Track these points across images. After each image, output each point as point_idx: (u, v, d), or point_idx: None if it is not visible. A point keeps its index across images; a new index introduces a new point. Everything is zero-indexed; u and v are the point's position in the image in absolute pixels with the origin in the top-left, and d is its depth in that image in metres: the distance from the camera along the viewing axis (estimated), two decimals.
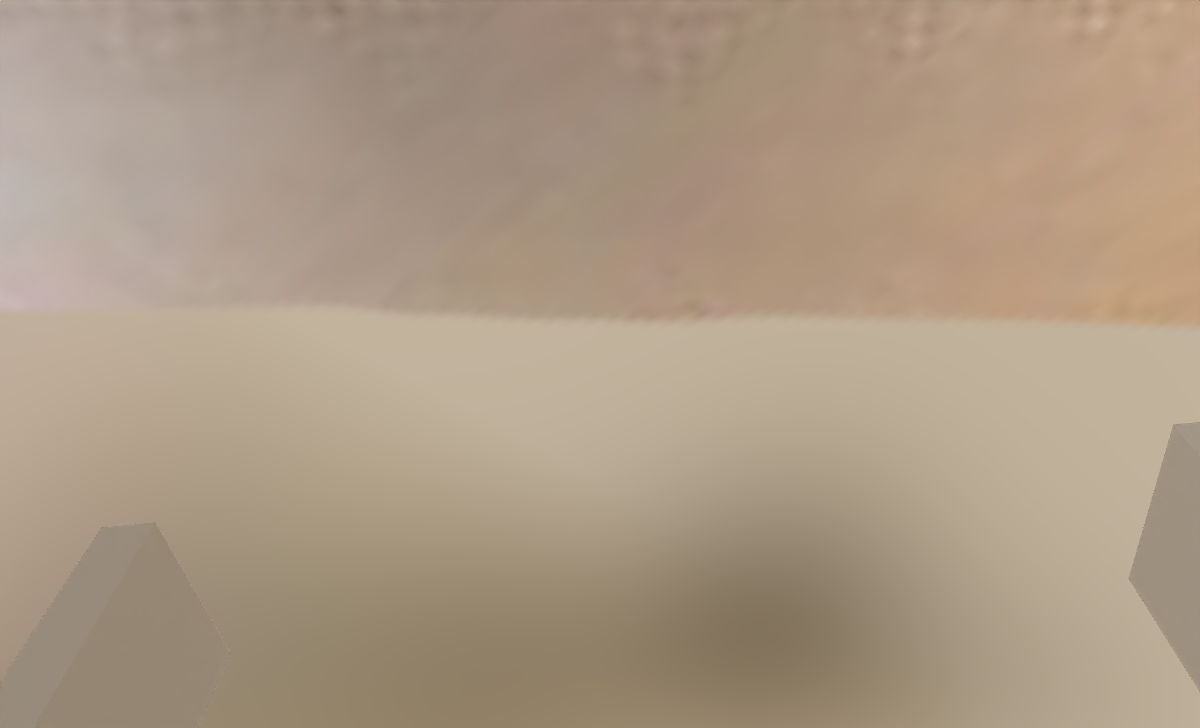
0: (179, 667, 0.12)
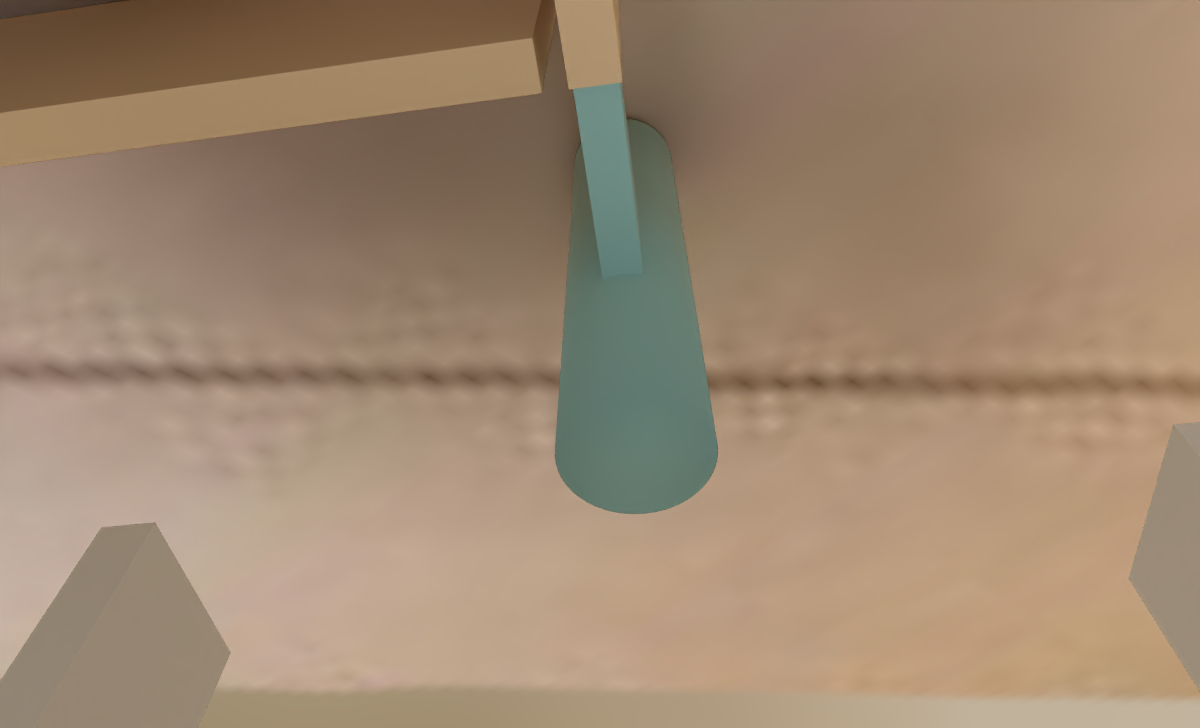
0: (179, 667, 0.12)
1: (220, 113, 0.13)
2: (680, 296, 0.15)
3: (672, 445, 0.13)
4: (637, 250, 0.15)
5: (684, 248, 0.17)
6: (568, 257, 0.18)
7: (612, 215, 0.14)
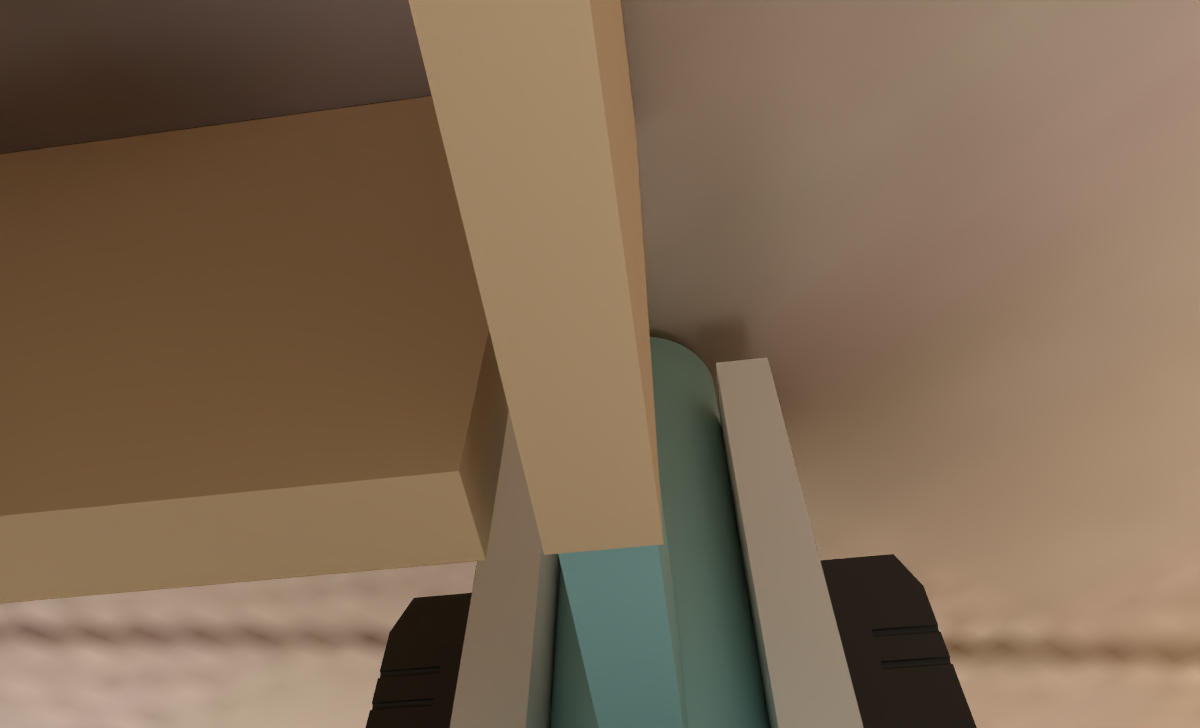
0: None
1: None
2: None
3: None
4: None
5: (753, 636, 0.10)
6: (556, 640, 0.10)
7: (635, 718, 0.07)
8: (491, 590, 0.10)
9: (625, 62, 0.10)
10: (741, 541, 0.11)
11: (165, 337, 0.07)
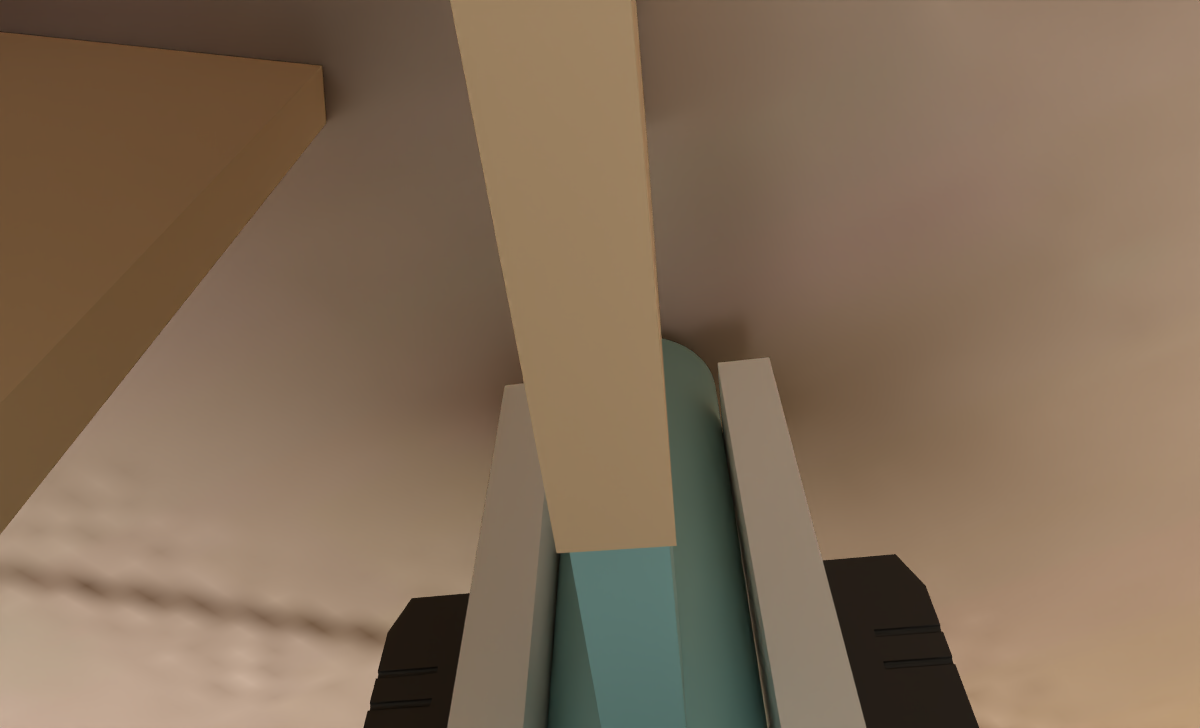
0: None
1: None
2: None
3: None
4: None
5: (752, 640, 0.10)
6: (554, 638, 0.10)
7: (638, 719, 0.07)
8: (489, 591, 0.10)
9: (640, 62, 0.10)
10: (743, 541, 0.11)
11: None
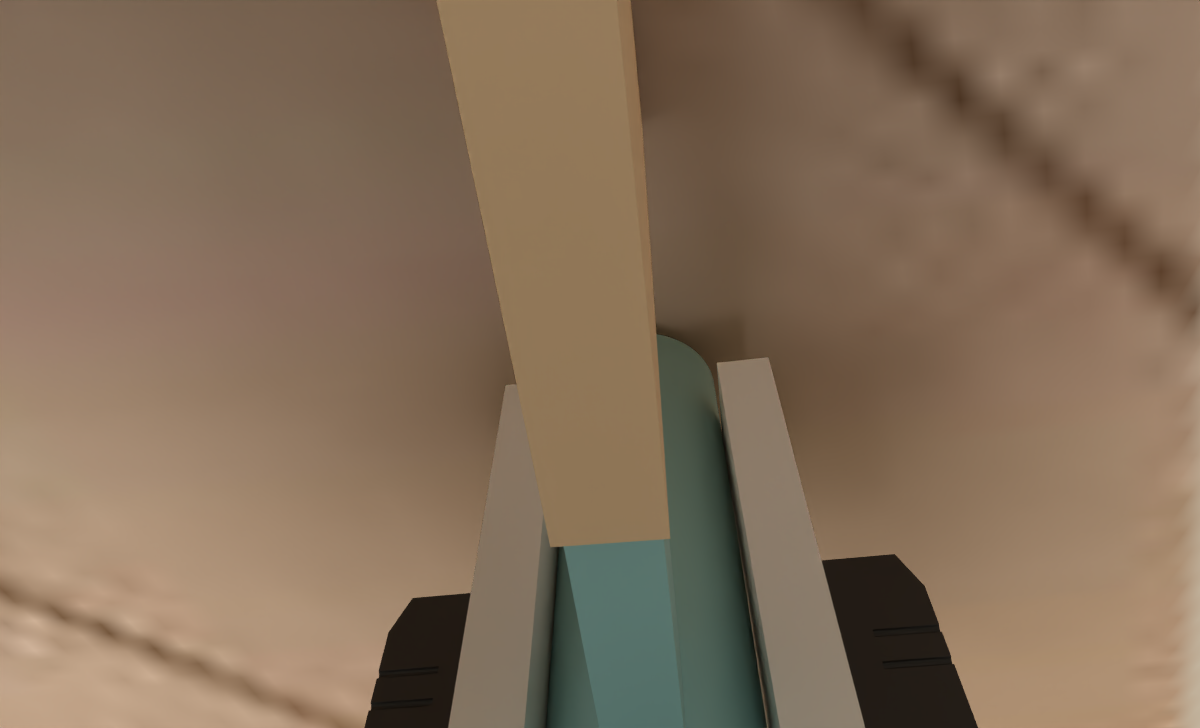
0: None
1: None
2: None
3: None
4: None
5: (750, 635, 0.10)
6: (553, 634, 0.10)
7: (635, 713, 0.07)
8: (490, 590, 0.10)
9: None
10: (742, 541, 0.11)
11: None
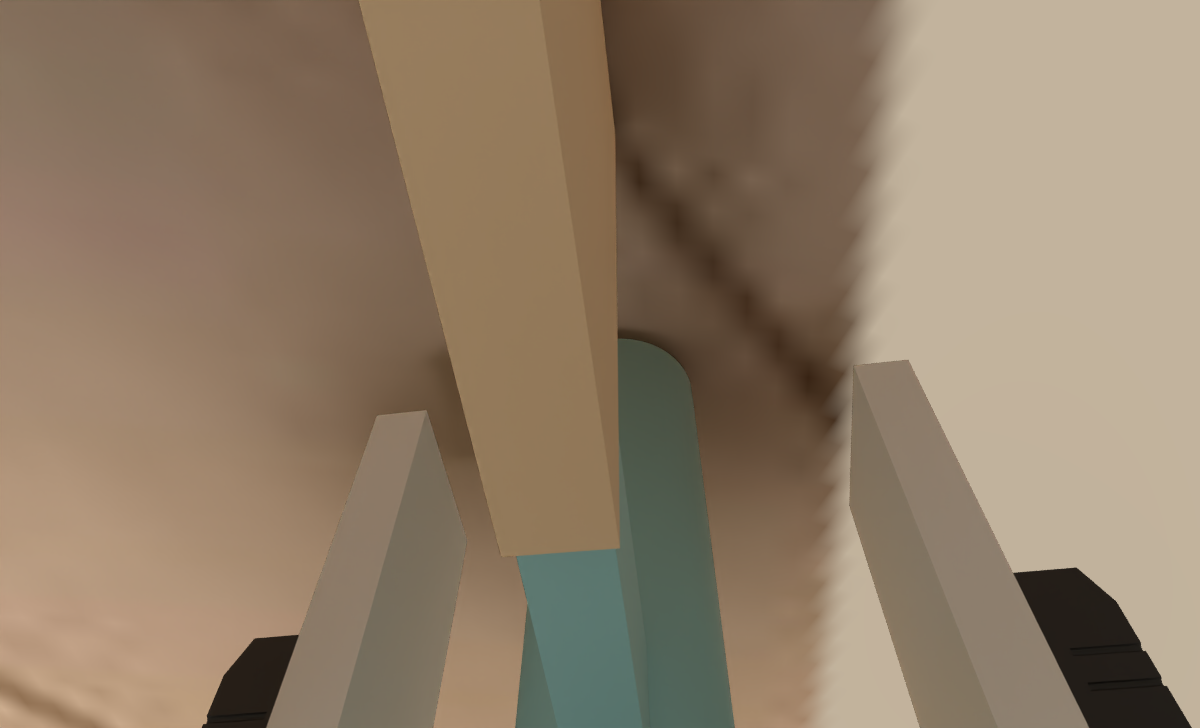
0: (444, 542, 0.13)
1: None
2: None
3: None
4: None
5: (720, 640, 0.10)
6: (524, 641, 0.10)
7: (595, 721, 0.07)
8: (318, 634, 0.10)
9: (602, 65, 0.10)
10: (904, 553, 0.11)
11: None
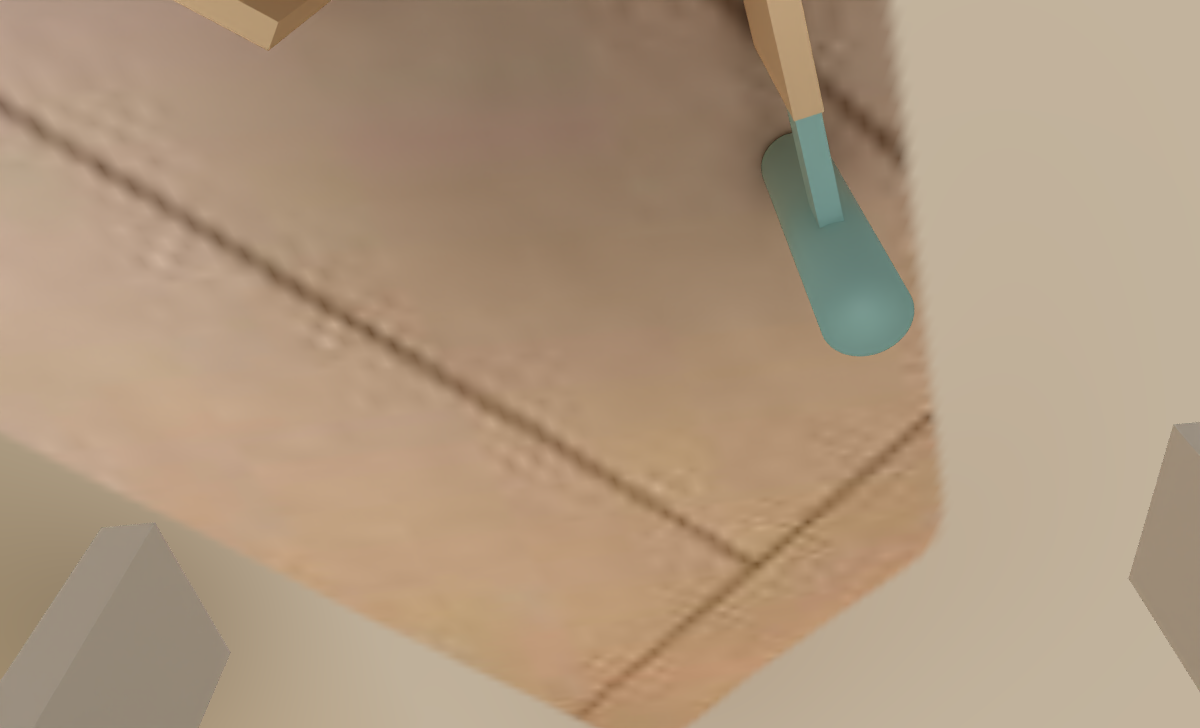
0: (179, 667, 0.12)
1: None
2: (869, 230, 0.25)
3: (887, 307, 0.23)
4: (839, 207, 0.25)
5: None
6: (784, 225, 0.28)
7: (822, 188, 0.24)
8: None
9: None
10: None
11: None
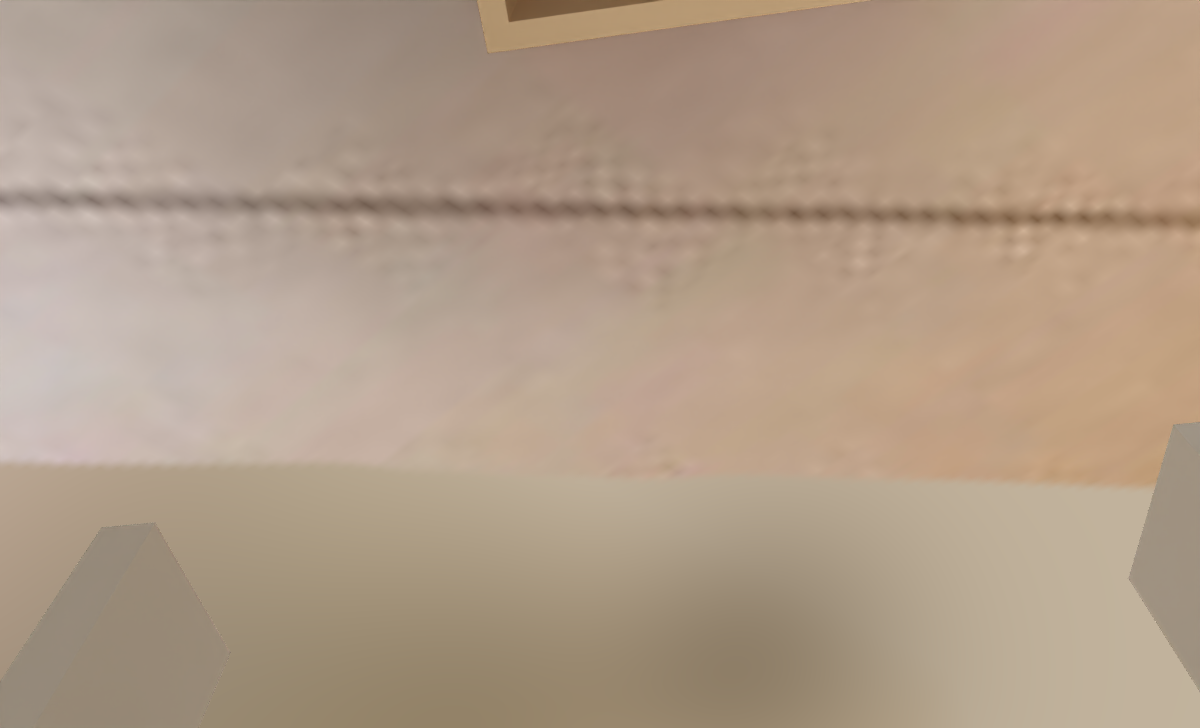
0: (179, 667, 0.12)
1: None
2: None
3: None
4: None
5: None
6: None
7: None
8: None
9: None
10: None
11: None
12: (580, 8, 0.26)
